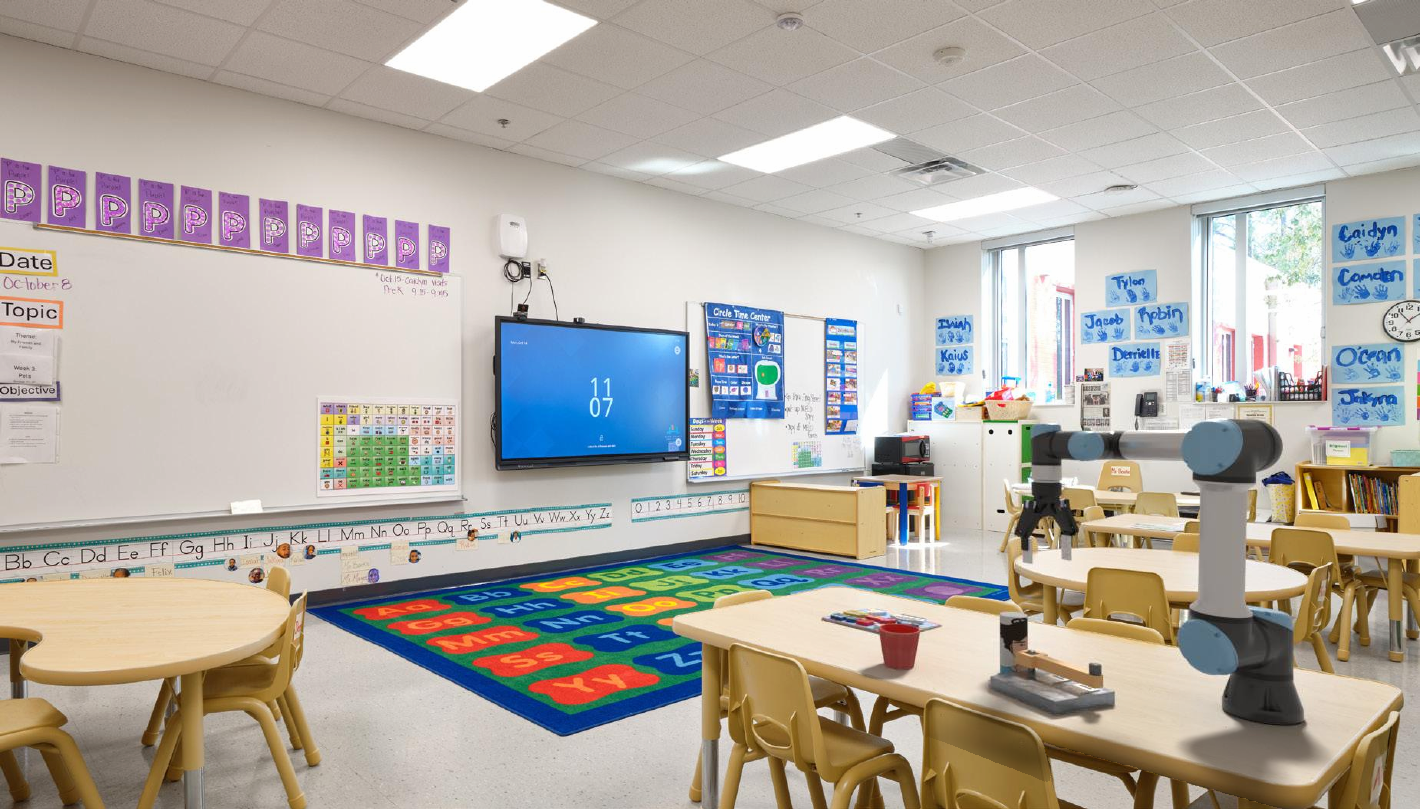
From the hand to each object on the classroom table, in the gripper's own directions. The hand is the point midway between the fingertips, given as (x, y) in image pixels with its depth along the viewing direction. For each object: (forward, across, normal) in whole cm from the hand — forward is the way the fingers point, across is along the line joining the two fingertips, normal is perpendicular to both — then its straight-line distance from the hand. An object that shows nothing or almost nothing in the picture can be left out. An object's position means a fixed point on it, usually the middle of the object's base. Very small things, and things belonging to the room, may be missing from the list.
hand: (1047, 561), depth 223 cm
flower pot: (+27, +37, -14) cm, 48 cm away
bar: (+22, +17, +20) cm, 35 cm away
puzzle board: (+28, +14, -56) cm, 64 cm away
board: (+27, +20, +20) cm, 39 cm away
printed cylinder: (+27, +15, +3) cm, 31 cm away
